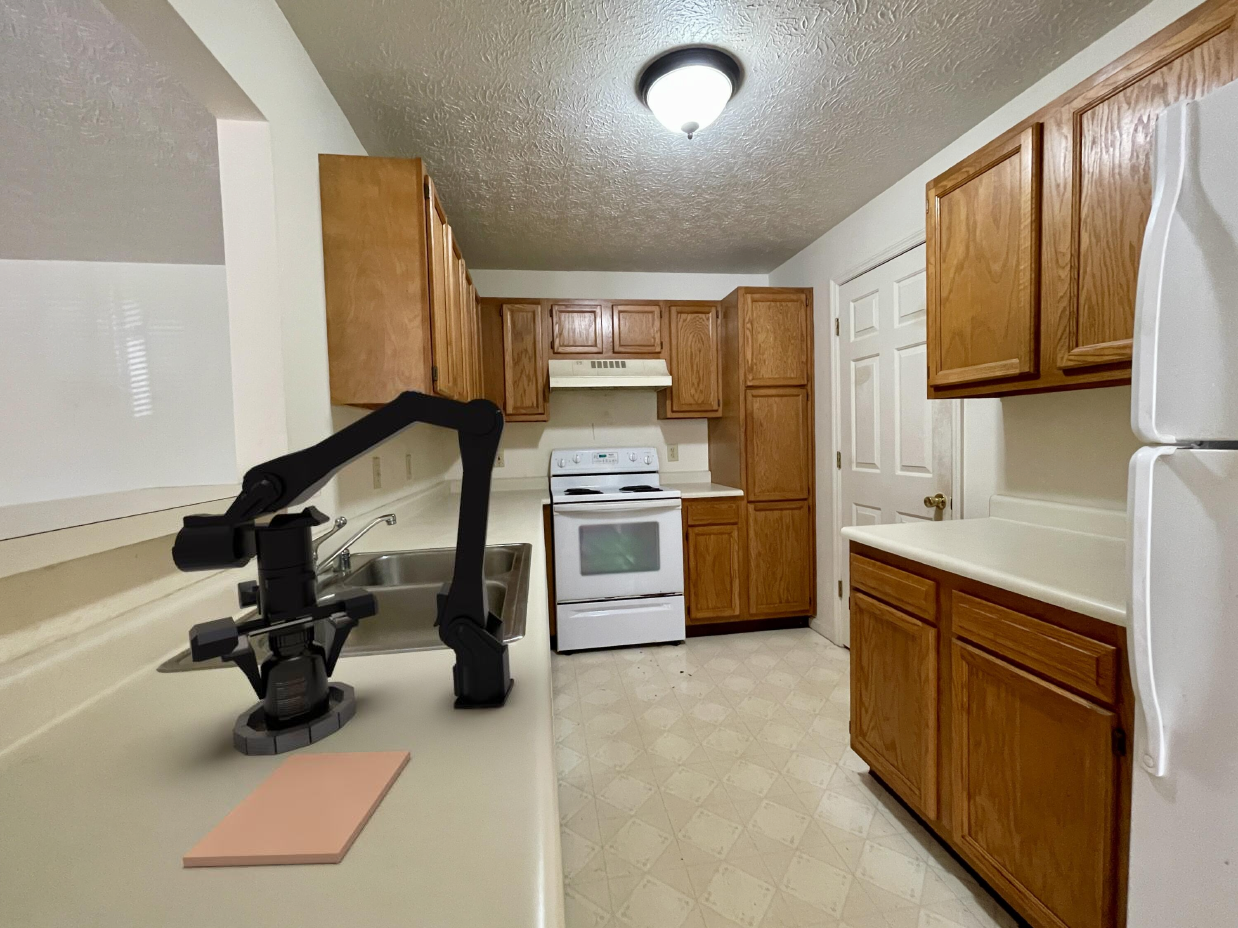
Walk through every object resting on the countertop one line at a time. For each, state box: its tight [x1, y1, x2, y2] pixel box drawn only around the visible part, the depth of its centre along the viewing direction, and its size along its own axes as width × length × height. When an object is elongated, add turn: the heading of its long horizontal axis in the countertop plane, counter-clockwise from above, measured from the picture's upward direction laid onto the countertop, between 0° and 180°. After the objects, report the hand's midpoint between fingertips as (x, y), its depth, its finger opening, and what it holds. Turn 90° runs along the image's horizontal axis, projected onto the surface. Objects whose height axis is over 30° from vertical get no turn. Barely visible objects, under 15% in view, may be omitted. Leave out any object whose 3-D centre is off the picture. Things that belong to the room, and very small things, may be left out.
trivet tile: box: [182, 750, 411, 868], centre depth 46 cm, size 13×13×1 cm
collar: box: [232, 681, 356, 756], centre depth 60 cm, size 12×12×2 cm
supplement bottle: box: [259, 622, 331, 731], centre depth 60 cm, size 7×7×12 cm
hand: (296, 687), depth 60 cm, fingers closed on supplement bottle, 7 cm apart
